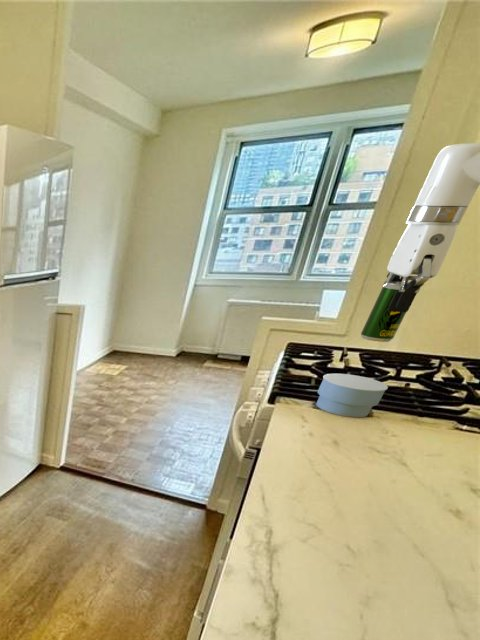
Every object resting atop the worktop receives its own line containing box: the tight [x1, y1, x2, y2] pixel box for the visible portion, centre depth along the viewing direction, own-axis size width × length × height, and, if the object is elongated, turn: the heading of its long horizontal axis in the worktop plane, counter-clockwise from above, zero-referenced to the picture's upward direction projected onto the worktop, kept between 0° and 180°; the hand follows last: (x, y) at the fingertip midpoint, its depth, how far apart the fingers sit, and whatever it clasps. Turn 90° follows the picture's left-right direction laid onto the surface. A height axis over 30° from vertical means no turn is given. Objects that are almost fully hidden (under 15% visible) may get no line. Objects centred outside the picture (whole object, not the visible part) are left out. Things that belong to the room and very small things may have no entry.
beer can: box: [360, 281, 410, 343], centre depth 105 cm, size 5×5×12 cm
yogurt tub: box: [315, 373, 389, 418], centre depth 114 cm, size 11×11×7 cm
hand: (390, 307), depth 105 cm, fingers closed on beer can, 5 cm apart
